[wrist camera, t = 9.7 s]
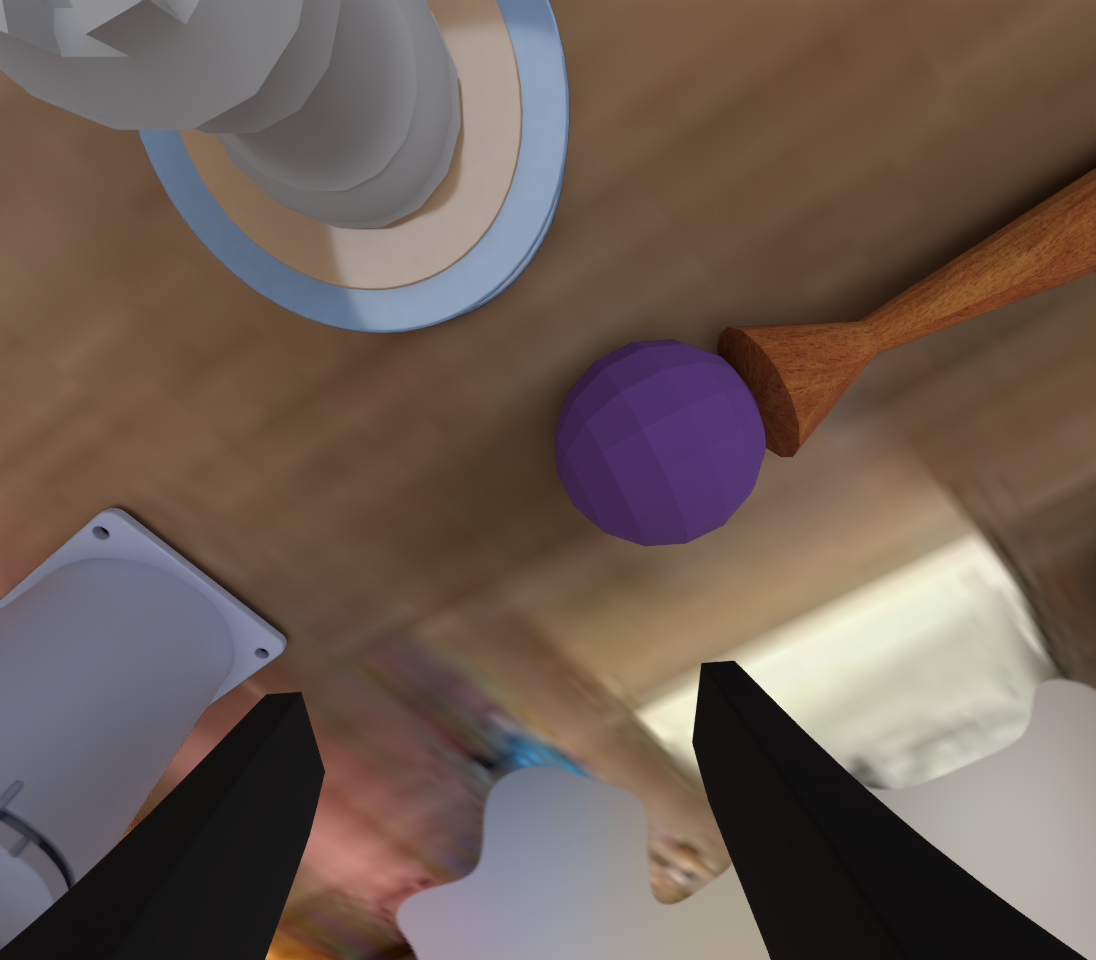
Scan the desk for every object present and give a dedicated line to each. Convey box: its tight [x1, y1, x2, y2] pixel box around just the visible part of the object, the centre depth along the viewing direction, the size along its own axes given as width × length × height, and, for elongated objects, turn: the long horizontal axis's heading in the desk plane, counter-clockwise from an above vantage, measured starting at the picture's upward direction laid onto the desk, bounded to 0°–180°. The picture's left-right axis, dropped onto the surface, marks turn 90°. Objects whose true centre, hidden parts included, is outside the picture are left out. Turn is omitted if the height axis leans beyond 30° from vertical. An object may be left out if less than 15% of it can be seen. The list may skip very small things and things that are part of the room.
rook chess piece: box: [0, 0, 461, 228], centre depth 7 cm, size 4×4×8 cm
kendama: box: [555, 168, 1096, 546], centre depth 15 cm, size 6×6×20 cm
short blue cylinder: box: [138, 0, 570, 333], centre depth 13 cm, size 9×9×5 cm
